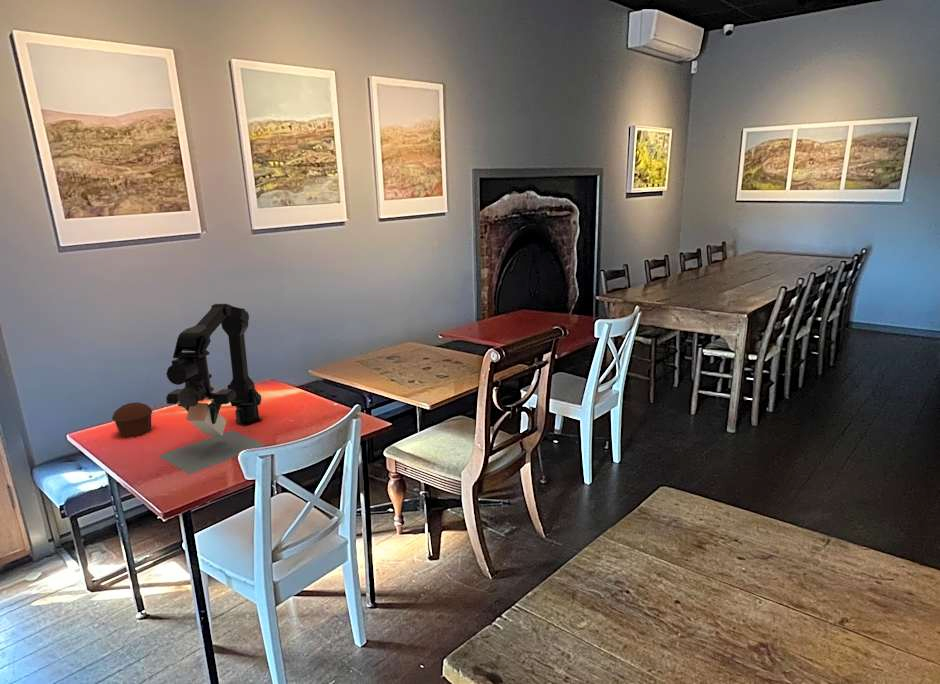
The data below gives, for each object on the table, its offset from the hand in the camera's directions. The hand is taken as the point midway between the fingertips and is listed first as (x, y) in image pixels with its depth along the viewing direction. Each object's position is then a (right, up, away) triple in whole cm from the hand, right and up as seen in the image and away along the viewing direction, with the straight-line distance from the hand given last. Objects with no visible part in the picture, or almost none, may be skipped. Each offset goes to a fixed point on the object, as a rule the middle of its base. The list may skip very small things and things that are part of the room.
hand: (205, 423), depth 173 cm
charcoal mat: (0, -9, +4) cm, 10 cm away
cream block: (+1, -2, +6) cm, 7 cm away
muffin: (-32, -6, +20) cm, 38 cm away
